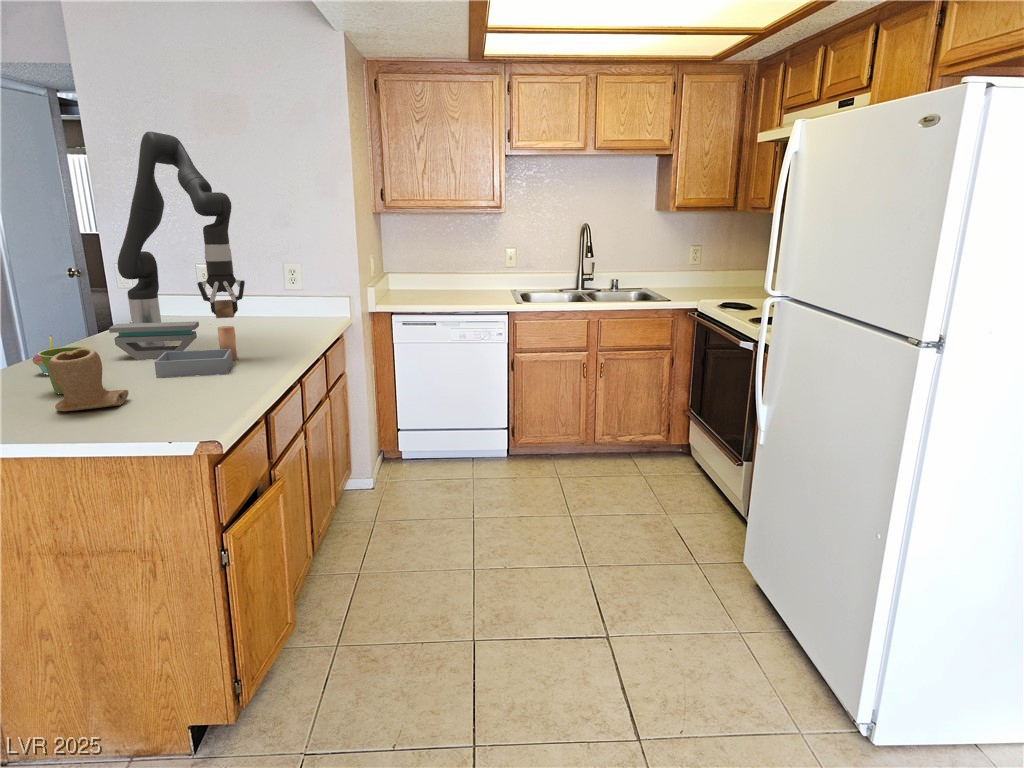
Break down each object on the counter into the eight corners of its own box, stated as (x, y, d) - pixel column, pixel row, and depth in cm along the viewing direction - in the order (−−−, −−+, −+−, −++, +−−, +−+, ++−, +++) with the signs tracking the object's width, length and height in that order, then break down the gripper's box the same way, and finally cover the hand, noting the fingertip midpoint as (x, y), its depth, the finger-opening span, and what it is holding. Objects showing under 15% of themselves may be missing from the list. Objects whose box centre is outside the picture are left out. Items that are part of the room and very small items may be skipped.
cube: (216, 318, 203) (214, 302, 202) (217, 315, 208) (216, 300, 207) (233, 317, 205) (231, 301, 204) (234, 315, 209) (233, 299, 208)
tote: (156, 377, 191) (154, 361, 190) (166, 366, 204) (164, 351, 203) (226, 374, 196) (225, 358, 195) (232, 363, 209) (231, 348, 208)
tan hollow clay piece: (50, 418, 154) (38, 357, 150) (61, 405, 164) (51, 346, 160) (123, 412, 159) (114, 352, 155) (130, 399, 170) (121, 342, 166)
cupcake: (76, 371, 196) (70, 332, 193) (49, 378, 189) (42, 337, 186) (56, 369, 199) (49, 330, 196) (28, 375, 191) (20, 335, 188)
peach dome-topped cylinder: (220, 362, 210) (216, 328, 207) (222, 359, 215) (218, 326, 212) (236, 361, 212) (233, 328, 209) (238, 358, 216) (235, 325, 213)
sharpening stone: (202, 352, 224) (198, 321, 221) (197, 357, 217) (194, 325, 214) (121, 356, 218) (116, 323, 215) (113, 361, 211) (108, 328, 208)
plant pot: (41, 400, 168) (33, 357, 165) (48, 388, 178) (41, 348, 175) (95, 394, 173) (88, 353, 170) (99, 384, 184) (92, 345, 181)
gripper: (244, 258, 207) (250, 311, 212) (195, 259, 203) (201, 313, 207) (242, 259, 200) (248, 314, 205) (191, 260, 196) (198, 316, 200)
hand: (225, 313), depth 206 cm, fingers closed on cube, 5 cm apart
